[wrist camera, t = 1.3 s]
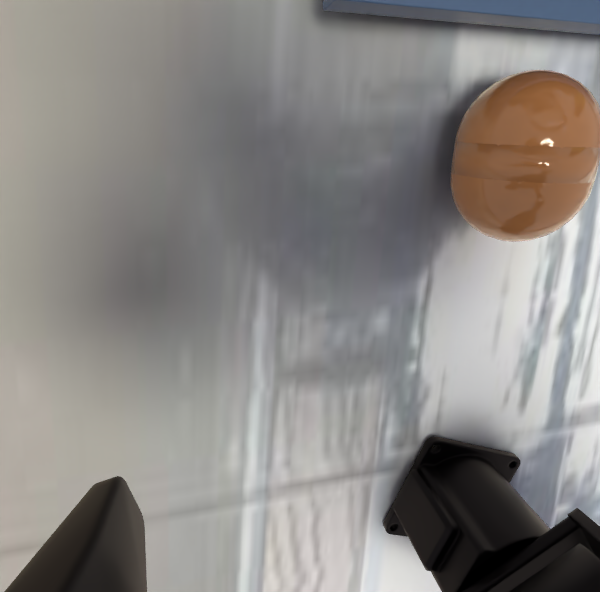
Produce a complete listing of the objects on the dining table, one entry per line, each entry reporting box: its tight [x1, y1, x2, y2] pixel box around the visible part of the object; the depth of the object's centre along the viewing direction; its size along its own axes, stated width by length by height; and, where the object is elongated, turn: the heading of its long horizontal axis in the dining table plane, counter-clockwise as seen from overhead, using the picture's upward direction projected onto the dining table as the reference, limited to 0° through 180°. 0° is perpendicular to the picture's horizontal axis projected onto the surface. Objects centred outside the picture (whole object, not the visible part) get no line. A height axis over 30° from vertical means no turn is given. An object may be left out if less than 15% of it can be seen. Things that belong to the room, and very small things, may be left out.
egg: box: [450, 70, 600, 242], centre depth 18 cm, size 5×6×5 cm
